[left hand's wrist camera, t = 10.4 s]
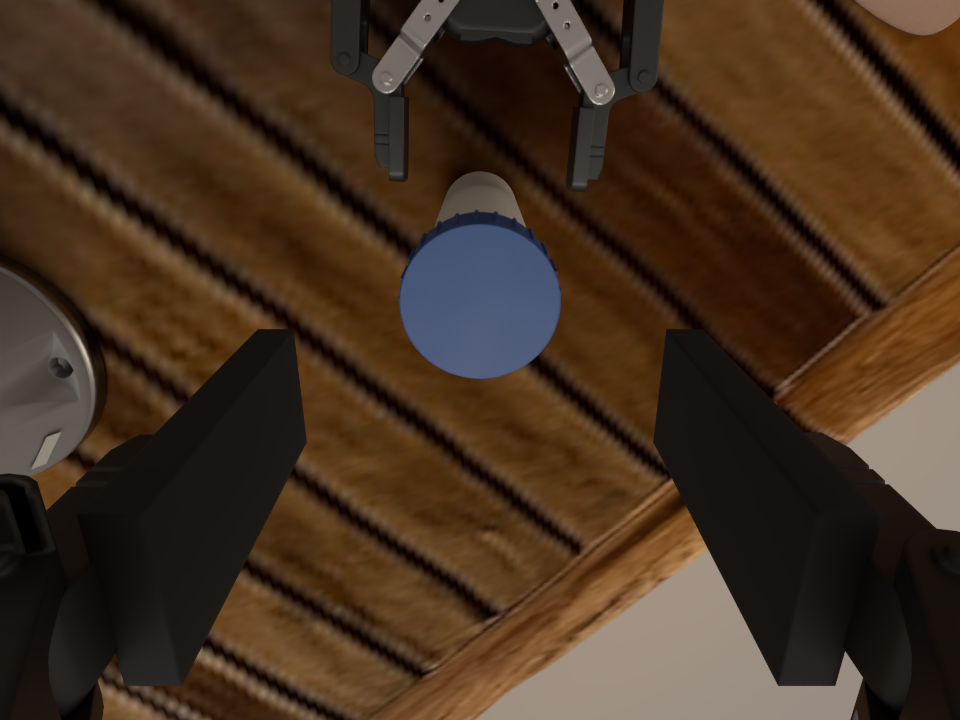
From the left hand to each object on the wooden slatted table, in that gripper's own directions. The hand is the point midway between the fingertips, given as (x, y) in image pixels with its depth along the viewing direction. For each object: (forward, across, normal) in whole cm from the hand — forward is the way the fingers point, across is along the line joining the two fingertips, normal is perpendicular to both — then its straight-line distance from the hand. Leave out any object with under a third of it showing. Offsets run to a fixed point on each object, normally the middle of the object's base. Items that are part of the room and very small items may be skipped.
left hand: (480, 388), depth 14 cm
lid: (+7, 0, 0) cm, 7 cm away
